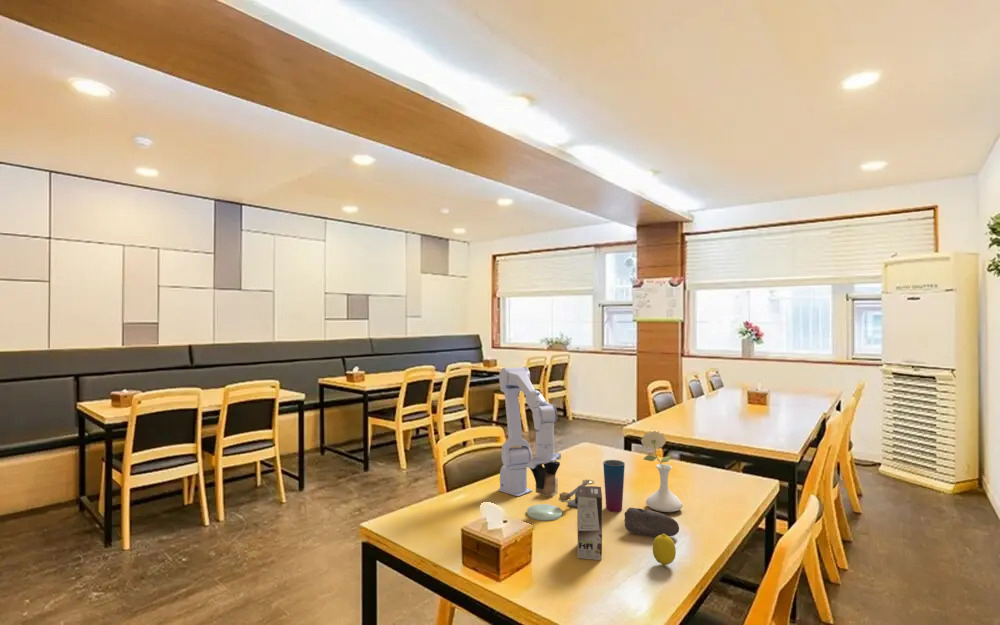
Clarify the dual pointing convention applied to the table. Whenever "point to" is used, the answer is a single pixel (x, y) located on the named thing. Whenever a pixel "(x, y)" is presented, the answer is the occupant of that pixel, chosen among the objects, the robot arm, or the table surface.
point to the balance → (566, 496)
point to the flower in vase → (663, 496)
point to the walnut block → (547, 485)
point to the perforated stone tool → (649, 523)
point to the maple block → (555, 488)
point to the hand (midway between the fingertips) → (545, 486)
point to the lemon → (664, 549)
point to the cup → (614, 484)
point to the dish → (544, 512)
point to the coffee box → (589, 522)
